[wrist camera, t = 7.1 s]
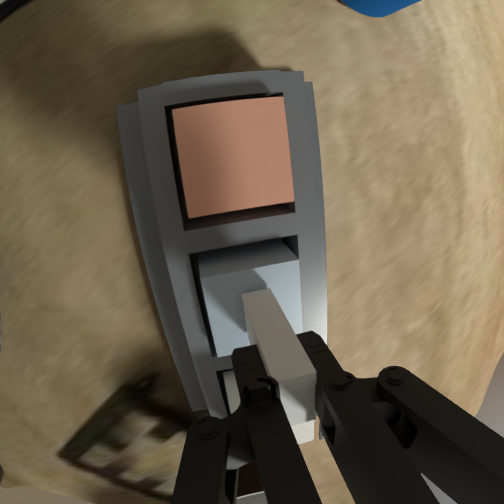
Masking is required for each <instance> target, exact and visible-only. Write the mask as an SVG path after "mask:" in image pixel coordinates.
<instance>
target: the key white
mask: <svg viewBox="0 0 504 504" xmlns="http://www.w3.org/2000/svg"><path fill="white" fill-rule="evenodd" d="M223 376H224V382H225V387H226V392H227V397H228V402H229V407H230V412H231V414H232V413H233V412H235V411H236V410H237V408H238V407H239V405H240V396H239V392H238V388H237V383H236V379H235V374H234V370H231V371H226V372H223ZM291 428H292V430H293V433H294V435H295V438H296V440H297V443H298V444H302V443H305V442H308V441H312V440H314V420H311V421H308V422H304V423H301V424H297V425H293V426H291Z"/></svg>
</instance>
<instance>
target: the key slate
mask: <svg viewBox="0 0 504 504" xmlns="http://www.w3.org/2000/svg"><path fill="white" fill-rule="evenodd" d="M198 261H199V271H200V280H201V285H202V289H203V294H204V299H205V303H206V308H207V313H208V317H209V322H210V326H211V330H212V335H213V339H214V343H215V348H216V352H217V356H218V357H222V356H228V355H232V352H233V350H234V349H235V348H240V347H245V346H250V342H249V339H248V334H247V328H246V321H245V315H244V308H243V302H242V295H241V294H242V293H248V292H253V291H258V290H263V289H268V288H270V289H271V291H272V293H273V294H274V296H275V298H276V300H277V302H278V303H279V305H280V307H281V309H282V311H283V312H284V314H285V316H286V318H287V320H288V321H289V323H290V325H291V327H292V329H293V330H294V332H295V334H299V333H303V322H302V301H301V283H300V266H299V259H298V258H297V257H296V256H295V255H294V253H293V252H292V251H291V250H290V249H289V248H288V247H287V246H286V245H285V244H284V243H283V242H282V240H281V239H280V238H274V239H268V240H263V241H257V242H252V243H246V244H240V245H235V246H229V247H224V248H218V249H213V250H207V251H202V252H198Z"/></svg>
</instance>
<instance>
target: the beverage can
mask: <svg viewBox="0 0 504 504" xmlns="http://www.w3.org/2000/svg"><path fill="white" fill-rule="evenodd" d="M341 1H342V2H343V3H344V4H346V5H347V6H348V7H350V8H351V9H353V10H355V11H356V12H358V13H361V14H363V15H366V16H370V17H385V16H387V15H390V14H392V13H394V12H396V11H398V10H400V9H403V8H405V7H407V6H409V5H412V4H414V3H416V2H419V1H421V0H341Z"/></svg>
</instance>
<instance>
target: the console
mask: <svg viewBox="0 0 504 504" xmlns="http://www.w3.org/2000/svg"><path fill="white" fill-rule="evenodd" d="M161 84H162V85H157V86H152V87H147V88H142V89H137V94H138V101H137V102H132V103H128V104H124V105H119V106H116V113H117V121H118V129H119V136H120V143H121V149H122V156H123V162H124V168H125V173H126V179H127V184H128V190H129V195H130V200H131V205H132V210H133V214H134V219H135V224H136V228H137V233H138V237H139V241H140V245H141V250H142V254H143V258H144V262H145V266H146V269H147V273H148V277H149V281H150V285H151V288H152V292H153V295H154V299H155V302H156V306H157V309H158V313H159V316H160V319H161V323H162V326H163V329H164V332H165V335H166V338H167V342H168V345H169V348H170V351H171V354H172V357H173V360H174V363H175V365H176V368H177V371H178V374H179V377H180V380H181V382H182V385H183V388H184V391H185V393H186V396H187V399H188V401H189V404H190V406H191V409H192V411H193V412H194V411H200V410H206V409H208V410H209V413H210V415H211V416H213V417H218V418H220V419H223V418H225V417H227V416H229V415H230V414H231V412H230V407H229V402H228V397H227V392H226V387H225V382H224V376H223V372H226V371H231V370H233V365H232V360H231V355H228V356H222V357H218V356H217V352H216V348H215V343H214V339H213V335H212V330H211V326H210V322H209V317H208V313H207V308H206V303H205V299H204V294H203V289H202V285H201V280H200V271H199V261H198V252H202V251H207V250H213V249H218V248H224V247H229V246H235V245H240V244H246V243H252V242H257V241H263V240H268V239H274V238H280V239H281V240H282V242H283V243H284V244H285V245H286V246H287V247H288V248H289V249H290V250H291V251H292V252H293V253H294V255H295V256H296V257H297V258H298V259H299V266H300V283H301V301H302V322H303V333H304V332H308V331H314V332H315V333H317V334H318V335H320V336H321V337H322V339H323V340H324V342H325V344H326V345H327V269H326V238H325V217H324V200H323V185H322V171H321V159H320V148H319V137H318V127H317V118H316V109H315V101H314V93H313V85H312V82H304V74H303V71H280V70H261V71H246V72H234V73H224V74H215V75H207V76H199V77H192V78H186V79H179V80H173V81H168V82H162V83H161ZM269 97H284V105H285V113H286V122H287V130H288V139H289V149H290V158H291V168H292V179H293V189H294V201H293V202H286V203H279V204H273V205H266V206H260V207H254V208H247V209H241V210H235V211H229V212H223V213H217V214H212V215H206V216H200V217H195V218H189V217H188V211H187V206H186V200H185V194H184V188H183V182H182V175H181V169H180V163H179V156H178V149H177V142H176V135H175V128H174V121H173V113H172V109H178V108H184V107H190V106H196V105H203V104H210V103H218V102H226V101H235V100H245V99H256V98H269ZM316 416H318V415H317V413H316Z"/></svg>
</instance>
